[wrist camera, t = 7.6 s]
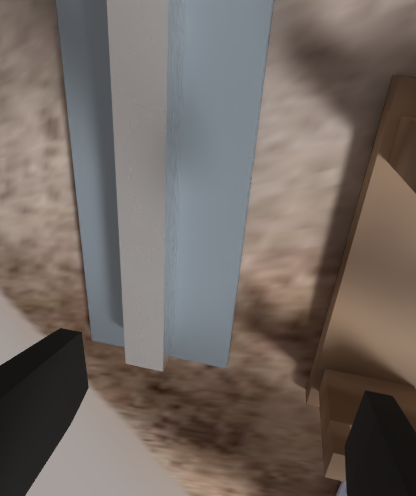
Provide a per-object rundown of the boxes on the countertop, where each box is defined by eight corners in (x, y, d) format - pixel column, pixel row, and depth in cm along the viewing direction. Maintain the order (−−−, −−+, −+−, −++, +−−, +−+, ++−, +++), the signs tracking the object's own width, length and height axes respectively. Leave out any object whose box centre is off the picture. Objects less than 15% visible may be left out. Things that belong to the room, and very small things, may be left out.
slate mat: (228, 361, 21) (226, 368, 20) (96, 333, 22) (91, 340, 21) (288, -115, 11) (288, -124, 11) (52, -117, 13) (42, -124, 12)
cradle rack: (400, 410, 20) (433, 522, 15) (305, 390, 21) (309, 491, 16) (550, 88, 12) (713, 106, 7) (392, 75, 13) (449, 85, 8)
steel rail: (174, 344, 20) (162, 371, 18) (140, 337, 21) (125, 363, 19) (188, -80, 12) (169, -104, 10) (129, -81, 12) (101, -105, 10)
